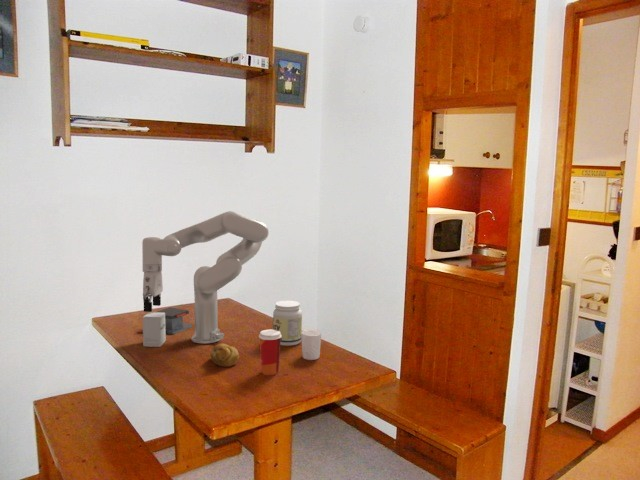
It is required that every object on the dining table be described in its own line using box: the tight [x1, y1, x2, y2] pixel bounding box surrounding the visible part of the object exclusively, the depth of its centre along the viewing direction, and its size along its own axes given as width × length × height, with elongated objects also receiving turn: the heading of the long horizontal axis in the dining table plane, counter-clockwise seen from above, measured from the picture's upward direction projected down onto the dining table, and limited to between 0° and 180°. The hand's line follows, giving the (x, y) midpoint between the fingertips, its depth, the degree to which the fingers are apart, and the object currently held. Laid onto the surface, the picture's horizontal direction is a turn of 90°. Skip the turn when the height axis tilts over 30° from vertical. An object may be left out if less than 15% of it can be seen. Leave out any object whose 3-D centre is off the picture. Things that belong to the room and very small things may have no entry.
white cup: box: [301, 329, 322, 361], centre depth 205 cm, size 8×8×10 cm
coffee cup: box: [258, 328, 282, 376], centre depth 189 cm, size 8×8×15 cm
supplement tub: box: [272, 300, 303, 347], centre depth 222 cm, size 12×12×17 cm
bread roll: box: [209, 342, 240, 368], centre depth 198 cm, size 13×10×8 cm
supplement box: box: [142, 311, 167, 348], centre depth 217 cm, size 7×7×13 cm
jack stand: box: [156, 306, 193, 336], centre depth 238 cm, size 13×13×8 cm
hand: (152, 308), depth 216 cm, fingers open, 9 cm apart
